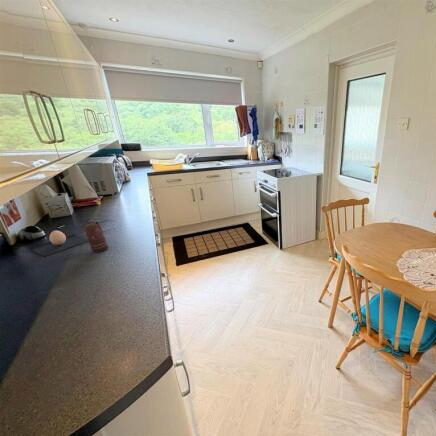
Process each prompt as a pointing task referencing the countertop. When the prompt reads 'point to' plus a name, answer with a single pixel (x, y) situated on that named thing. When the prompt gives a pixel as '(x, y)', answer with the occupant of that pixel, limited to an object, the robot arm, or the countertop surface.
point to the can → (95, 237)
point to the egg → (57, 237)
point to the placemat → (58, 246)
